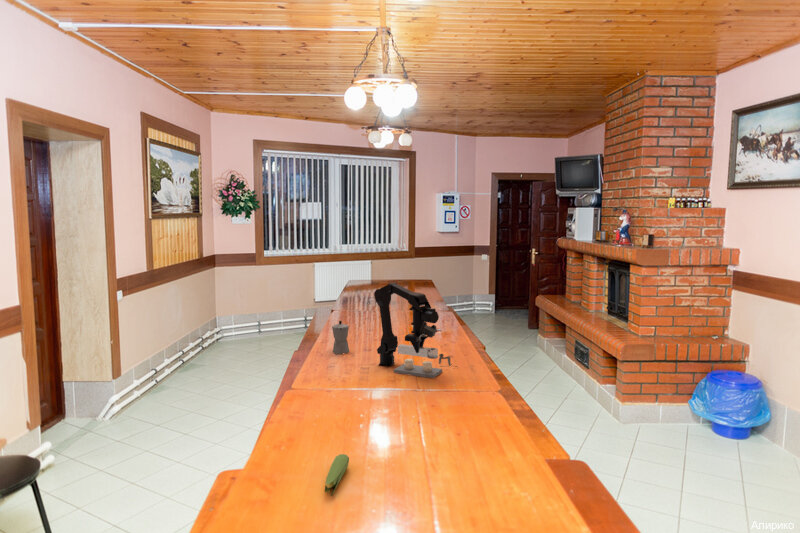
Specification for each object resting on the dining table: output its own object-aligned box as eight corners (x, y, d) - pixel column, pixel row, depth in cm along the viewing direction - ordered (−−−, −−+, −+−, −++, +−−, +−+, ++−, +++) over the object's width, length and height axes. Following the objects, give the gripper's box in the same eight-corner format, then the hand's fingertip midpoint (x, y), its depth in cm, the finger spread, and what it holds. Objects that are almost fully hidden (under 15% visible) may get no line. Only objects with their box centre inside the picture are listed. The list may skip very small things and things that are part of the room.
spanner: (397, 353, 252) (397, 345, 251) (401, 351, 256) (401, 343, 255) (435, 359, 242) (435, 350, 242) (439, 356, 246) (439, 348, 246)
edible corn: (353, 452, 161) (339, 447, 161) (335, 488, 141) (320, 482, 142) (349, 466, 162) (335, 462, 162) (331, 504, 142) (315, 499, 142)
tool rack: (393, 372, 252) (393, 361, 252) (403, 366, 262) (403, 355, 262) (433, 378, 243) (433, 367, 242) (442, 371, 253) (442, 360, 252)
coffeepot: (349, 355, 284) (349, 322, 282) (332, 355, 283) (331, 323, 281) (348, 347, 299) (348, 317, 297) (332, 348, 298) (331, 317, 296)
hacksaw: (439, 355, 283) (439, 353, 282) (458, 356, 281) (458, 353, 281) (437, 369, 259) (437, 366, 259) (458, 369, 258) (458, 366, 257)
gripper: (425, 325, 235) (425, 359, 237) (441, 318, 251) (441, 349, 253) (404, 323, 240) (404, 356, 242) (421, 316, 256) (421, 346, 258)
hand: (418, 352), depth 249 cm, fingers closed on spanner, 3 cm apart
